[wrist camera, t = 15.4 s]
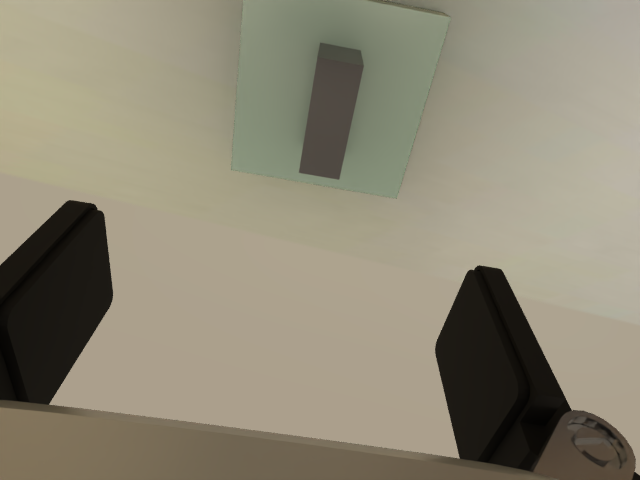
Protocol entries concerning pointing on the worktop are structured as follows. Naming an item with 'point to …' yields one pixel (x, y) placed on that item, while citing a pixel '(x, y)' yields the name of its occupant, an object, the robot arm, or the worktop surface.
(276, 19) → the lid
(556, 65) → the worktop surface
